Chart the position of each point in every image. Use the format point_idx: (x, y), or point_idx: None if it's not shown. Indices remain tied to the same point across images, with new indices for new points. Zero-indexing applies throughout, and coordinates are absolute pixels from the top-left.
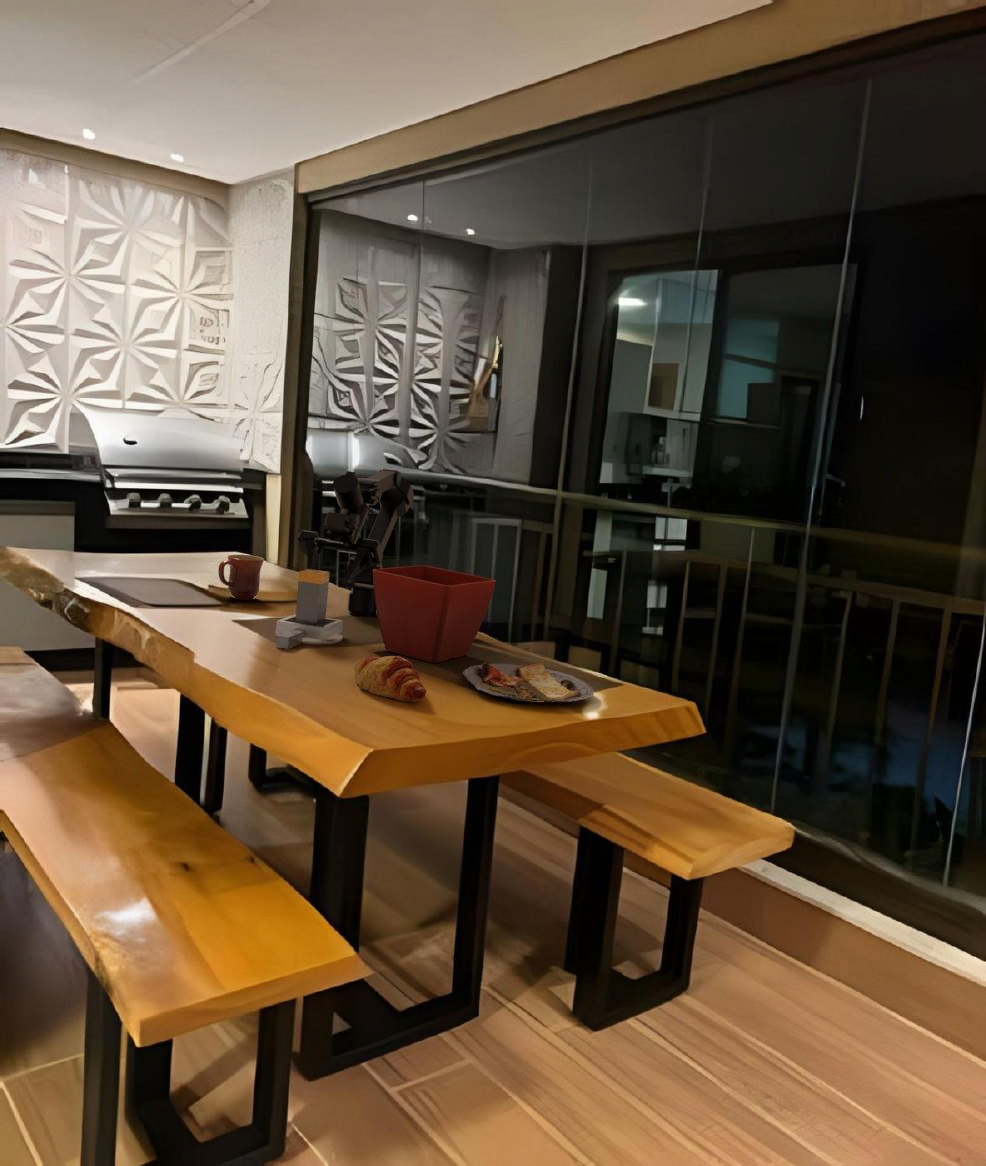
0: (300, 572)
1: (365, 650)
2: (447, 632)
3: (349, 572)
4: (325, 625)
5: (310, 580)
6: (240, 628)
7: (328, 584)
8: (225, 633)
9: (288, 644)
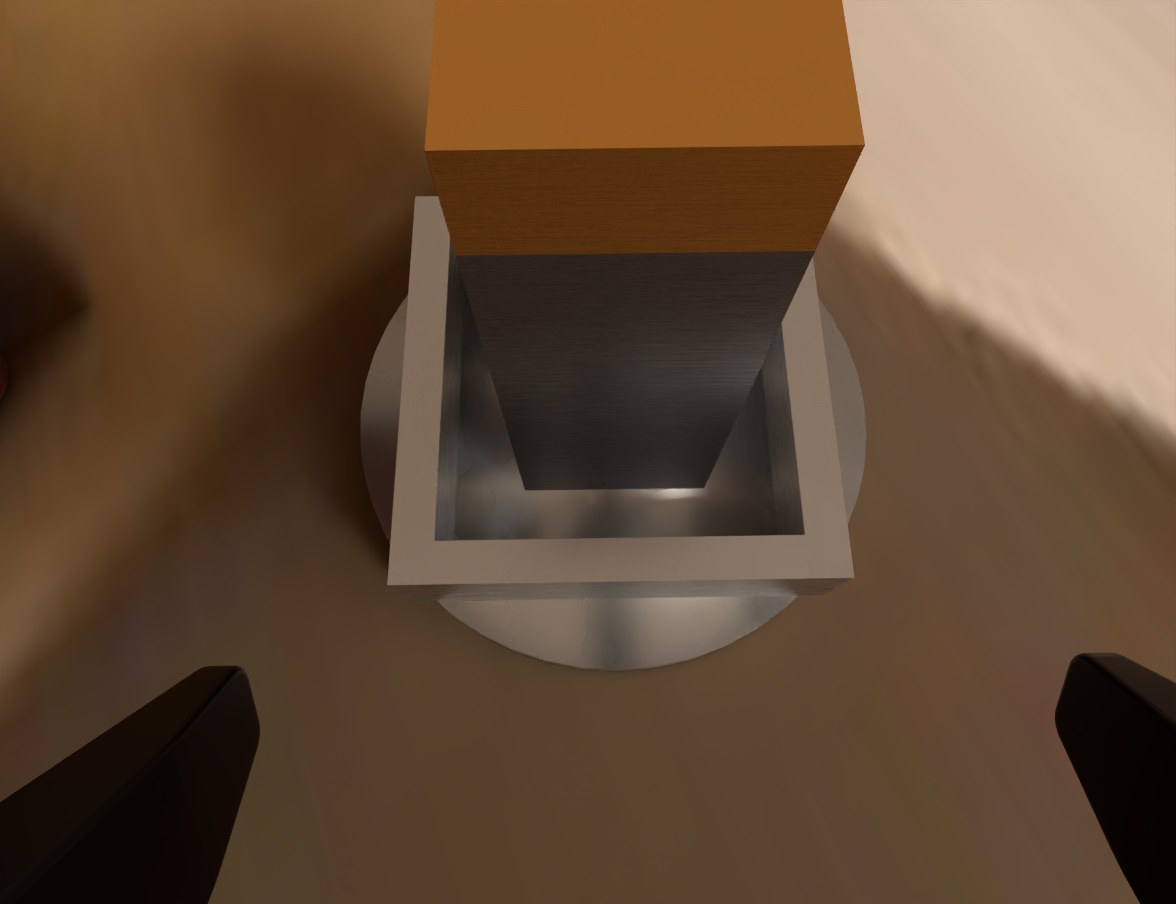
0: None
1: (152, 315)
2: None
3: (146, 742)
4: (443, 288)
5: None
6: (1097, 344)
7: (464, 281)
8: (1055, 169)
9: None
